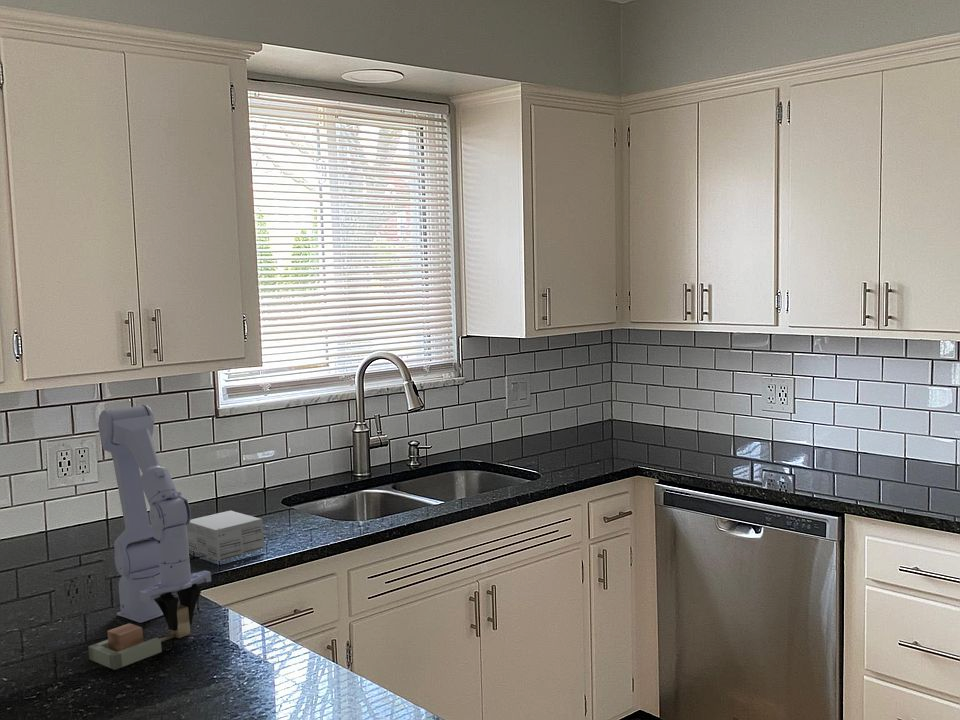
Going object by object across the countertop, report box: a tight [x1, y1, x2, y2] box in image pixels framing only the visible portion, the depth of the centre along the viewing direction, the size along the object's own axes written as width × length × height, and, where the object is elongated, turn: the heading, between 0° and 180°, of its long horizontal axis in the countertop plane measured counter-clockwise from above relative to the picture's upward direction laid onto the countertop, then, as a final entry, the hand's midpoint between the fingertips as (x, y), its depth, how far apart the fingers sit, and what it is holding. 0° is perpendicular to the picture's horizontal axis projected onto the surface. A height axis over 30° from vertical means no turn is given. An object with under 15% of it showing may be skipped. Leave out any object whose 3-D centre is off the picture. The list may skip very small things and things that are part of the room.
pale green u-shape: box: [88, 637, 163, 671], centre depth 175 cm, size 9×10×2 cm
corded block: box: [106, 604, 191, 652], centre depth 179 cm, size 4×15×6 cm, turn 141°
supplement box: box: [186, 510, 265, 561], centre depth 240 cm, size 17×13×9 cm
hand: (180, 626), depth 184 cm, fingers closed on corded block, 3 cm apart
